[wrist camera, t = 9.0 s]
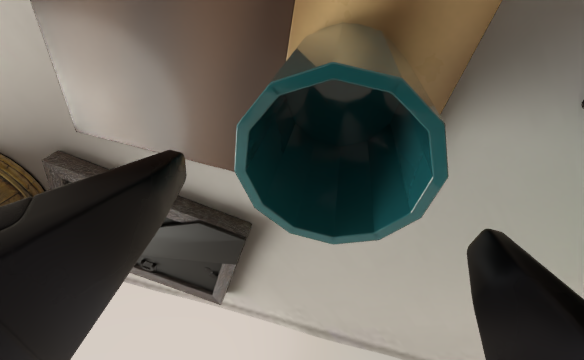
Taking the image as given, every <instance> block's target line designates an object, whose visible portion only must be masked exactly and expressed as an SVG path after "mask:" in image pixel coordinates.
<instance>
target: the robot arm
mask: <svg viewBox="0 0 584 360" xmlns="http://www.w3.org/2000/svg"><path fill="white" fill-rule="evenodd" d="M582 108H583V109H584V100H583V102H582ZM185 179H186V166H185V157H184V154H183V153H181V152H177V151H173V150H167V151H164V152H161V153H158V154H155V155H152V156H149V157H146V158H144V159H141V160H138V161H135V162H132V163H129V164H126V165H123V166H120V167H117V168H114V169H111V170H108V171H105V172H102V173H99V174H96V175H93V176H90V177H87V178H84V179H81V180H78V181H75V182H72V183H69V184H66V185H63V186H60V187H57V188H54V189H52V190H49V191H46V192H43V193H40V194H37V195H34V197H28V198H25V199H22V200H19V201H16V202H13V203H10V204H7V205H4V206H1V207H0V360H70V359H71V358H72V356H73V355H74V353H75V352H76V350H77V349H78V347H79V346H80V344H81V343H82V341H83V340H84V338H85V337H86V336H87V334H88V333H89V331H90V330H91V328H92V327H93V325H94V324H95V322H96V321H97V319H98V318H99V317H100V315H101V314H102V312H103V311H104V309H105V308H106V306H107V305H108V303H109V302H110V300H111V299H112V297H113V296H114V295H115V293H116V292H117V290H118V289H119V287H120V286H121V284H122V283H123V281H124V280H125V278H126V277H127V275H128V274H129V273H130V271H131V270H132V268H133V267H134V265H135V264H136V262H137V261H138V259H139V258H140V256H141V255H142V253H143V252H144V251H145V249H146V248H147V246H148V245H149V243H150V242H151V240H152V239H153V237H154V236H155V234H156V233H157V231H158V230H159V228H160V227H161V225H162V224H163V222H164V220H165V219H166V217H167V215H168V213H169V211H170V209H171V207H172V205H173V203H174V202H175V200H176V198H177V196H178V194H179V192H180V190H181V188H182V186H183V184H184V182H185ZM467 259H468V268H469V276H470V285H471V293H472V300H473V306H474V311H475V315H476V319H477V324H478V328H479V332H480V337H481V341H482V345H483V349H484V354H485V358H486V360H584V299H583V298H581V297H580V296H579V295H578V294H577V293H575V292H574V291H573V290H572V289H571V288H569V287H568V286H567V285H566V284H564V283H563V282H562V281H561V280H560V279H558V278H557V277H556V276H555V275H554V274H552V273H551V272H550V271H549V270H548V269H546V268H545V267H544V266H543V265H541V264H540V263H539V262H538V261H537V260H535V259H534V258H533V257H532V256H531V255H529V254H528V253H527V252H526V251H525V250H523V249H522V248H521V247H520V246H518V245H517V244H516V243H515V242H514V241H512V240H511V239H510V238H509V237H508V236H506V235H505V234H504V233H502V232H500V231H496V230H492V229H485V230H483V231H482V232H481V233H480V234H479V235H478V236H477V237H476V238H475V240H474V241H473V242H472V243H471V244H470V245H469V247H468V249H467Z"/></svg>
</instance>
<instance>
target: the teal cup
mask: <svg viewBox="0 0 584 360" xmlns="http://www.w3.org/2000/svg"><path fill="white" fill-rule="evenodd" d="M234 171H235V173H236V175H237V177H238V179H239V180H240V182H241V184H242V186H243V188H244V189H245V191H246V193H247V195H248V197H249V198H250V200H251V202H252V204H253V206H254V208H256V209H257V210H258V211H260V212H261V213H262V214H264V215H265V216H267V217H268V218H269V219H271V220H272V221H274V222H275V223H276V224H278V225H279V226H281V227H282V228H283V229H285V230H286V231H287V232H289V233H291V234H295V235H299V236H302V237H306V238H310V239H314V240H318V241H322V242H326V243H329V244H343V243H354V242H364V241H374V240H380V239H382V238H384V237H386V236H388V235H390V234H392V233H393V232H395V231H397V230H399V229H401V228H403V227H405V226H407V225H409V224H410V223H412V222H414V221H416V220H418V219H420V218H421V217H422V216H423V214H424V213H425V211H426V210H427V208H428V207H429V205H430V204H431V202H432V201H433V199H434V198H435V196H436V195H437V193H438V192H439V190H440V189H441V187H442V186H443V184H444V183H445V181H446V180H447V178H448V163H447V147H446V130H445V123H444V122H443V120H442V118H441V116H440V115H439V113H438V111H437V110H436V108H435V106H434V105H433V103H432V101H431V99H430V98H429V96H428V94H427V93H426V91H425V89H424V88H423V86H422V84H421V82H420V81H419V79H418V77H417V76H416V74H415V72H414V71H413V69H412V67H411V65H410V64H409V62H408V60H407V59H406V58H405V57H404V55H403V54H402V53H401V52H400V51H399V50H398V49H397V47H396V46H395V45H394V43H393V42H392V41H391V40H390V39H389V38H388V37H387V36H386V35H385V34H384V33H383V32H382V31H380V30H375V29H373V28H371V27H368V26H365V25H361V24H354V23H344V22H342V23H339V24H335V25H331V26H328V27H325V28H322V29H320V30H318V31H316V32H314V33H313V34H310V35H307V36H306V37H305V38H304V39H303V40H302V42H301V43H300V44H299V45H298V47H297V48H296V49H295V50H294V52H293V53H292V54H291V55H290V57H289V58H288V59H287V60H286V62H285V63H284V64H283V66H282V67H281V68H280V69H279V71H278V72H277V73H276V74H275V76H274V77H273V78H272V80H271V81H270V82H269V83H268V85H267V86H266V87H265V89H264V90H263V91H262V92H261V94H260V95H259V96H258V98H257V99H256V100H255V101H254V103H253V104H252V105H251V106H250V108H249V109H248V110H247V112H246V113H245V114H244V115H243V117H242V118H241V119H240V121H239V122H238V123H237V125H236V143H235V162H234Z"/></svg>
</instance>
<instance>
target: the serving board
mask: <svg viewBox="0 0 584 360" xmlns="http://www.w3.org/2000/svg"><path fill="white" fill-rule="evenodd" d="M30 1H31V4H32V7H33V10H34V13H35V16H36V19H37V21H38V24H39V27H40V30H41V33H42V36H43V38H44V41H45V44H46V47H47V50H48V53H49V56H50V58H51V61H52V64H53V67H54V70H55V73H56V76H57V78H58V81H59V84H60V87H61V90H62V93H63V96H64V98H65V101H66V104H67V107H68V110H69V113H70V115H71V118H72V121H73V124H74V127H75V130H76V132H80V133H84V134H87V135H91V136H95V137H99V138H103V139H107V140H111V141H115V142H119V143H123V144H127V145H131V146H135V147H139V148H143V149H147V150H151V151H155V152H159V153H161V152H164V151H167V150H173V151H177V152H181V153H183V154H184V157H185V159H187V160H191V161H195V162H198V163H202V164H206V165H210V166H214V167H218V168H222V169H226V170H230V171H234V162H235V143H236V125H237V123H238V122H239V121H240V119H241V118H242V117H243V115H244V114H245V113H246V112H247V110H248V109H249V108H250V106H251V105H252V104H253V103H254V101H255V100H256V99H257V98H258V96H259V95H260V94H261V92H262V91H263V90H264V89H265V87H266V86H267V85H268V83H269V82H270V81H271V80H272V78H273V77H274V76H275V74H276V73H277V72H278V71H279V69H280V68H281V67H282V66H283V64H284V63H285V62H286V60H287V59H288V58H289V57H290V55H291V54H292V53H293V52H294V50H295V49H296V48H297V47H298V45H299V44H300V43H301V42H302V40H303V39H304V38H305V37H306V36H307V35H310V34H313V33H314V32H316V31H318V30H320V29H322V28H325V27H328V26H331V25H335V24H339V23H342V22H344V23H354V24H361V25H365V26H368V27H371V28H373V29H375V30H380V31H382V32H383V33H384V34H385V35H386V36H387V37H388V38H389V39H390V40H391V41H392V42H393V43H394V45H395V46H396V47H397V49H398V50H399V51H400V52H401V53H402V54H403V55H404V57H405V58H406V59H407V60H408V62H409V64H410V65H411V67H412V69H413V71H414V72H415V74H416V76H417V77H418V79H419V81H420V82H421V84H422V86H423V88H424V89H425V91H426V93H427V94H428V96H429V98H430V99H431V101H432V103H433V105H434V106H435V108H436V110H437V111H438V113H439V115H440V114H441V112H442V110H443V109H444V107H445V105H446V103H447V101H448V99H449V97H450V96H451V94H452V92H453V90H454V88H455V86H456V85H457V83H458V81H459V79H460V77H461V75H462V73H463V72H464V70H465V68H466V66H467V64H468V62H469V61H470V59H471V57H472V55H473V53H474V51H475V49H476V48H477V46H478V44H479V42H480V40H481V38H482V37H483V35H484V33H485V31H486V29H487V27H488V26H489V24H490V22H491V20H492V18H493V16H494V14H495V13H496V11H497V9H498V7H499V5H500V3H501V2H502V0H30ZM234 172H235V171H234Z"/></svg>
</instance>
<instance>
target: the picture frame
mask: <svg viewBox="0 0 584 360" xmlns="http://www.w3.org/2000/svg"><path fill="white" fill-rule="evenodd" d="M42 162H43V165H44V169H45V172H46V175H47V179H48V182H49V185H50V189H51V190H52V189H54V188H57V187H60V186H63V185H66V184H69V183H72V182H75V181H78V180H81V179H84V178H87V177H90V176H93V175H96V174H99V173H102V172H105V171H108V169H105V168H103V167H100V166H98V165H95V164H92V163H90V162H87V161H84V160H82V159H79V158H76V157H74V156H71V155H68V154H66V153H63V152H61V151H56V152H55V153H53V154H51V155H50V156H48V157H46V158H45V159H43V160H42ZM251 225H252V224H251V223H248V222H246V221H243V220H240V219H238V218H235V217H232V216H230V215H227V214H224V213H222V212H219V211H217V210H214V209H211V208H209V207H206V206H203V205H201V204H198V203H195V202H193V201H190V200H187V199H185V198H182V197H179V196H177V198H176V200H175V202H174V203H173V205H172V207H171V209H170V211H169V213H168V215H167V217H166V219H165V220H164V222H163V224H162V225H161V227H160V228H159V230H158V231H157V233H156V234H155V236H154V237H153V239H152V240H151V242H150V243H149V245H148V246H147V248H146V249H145V251H144V252H143V253H142V255H141V256H140V258H139V259H138V261H137V262H136V264H135V265H134V267H133V268H132V270H131V271H130V273H132V274H135V275H138V276H141V277H144V278H146V279H149V280H152V281H155V282H158V283H160V284H163V285H166V286H169V287H172V288H174V289H177V290H180V291H183V292H186V293H189V294H191V295H194V296H197V297H200V298H203V299H205V300H208V301H211V302H214V303H217V304H219V305H221V304H222V301H223V299H224V296H225V294H226V291H227V289H228V286H229V283H230V281H231V278H232V275H233V273H234V270H235V267H236V265H237V262H238V259H239V257H240V254H241V252H242V249H243V246H244V244H245V241H246V238H247V236H248V233H249V230H250V228H251Z"/></svg>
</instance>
